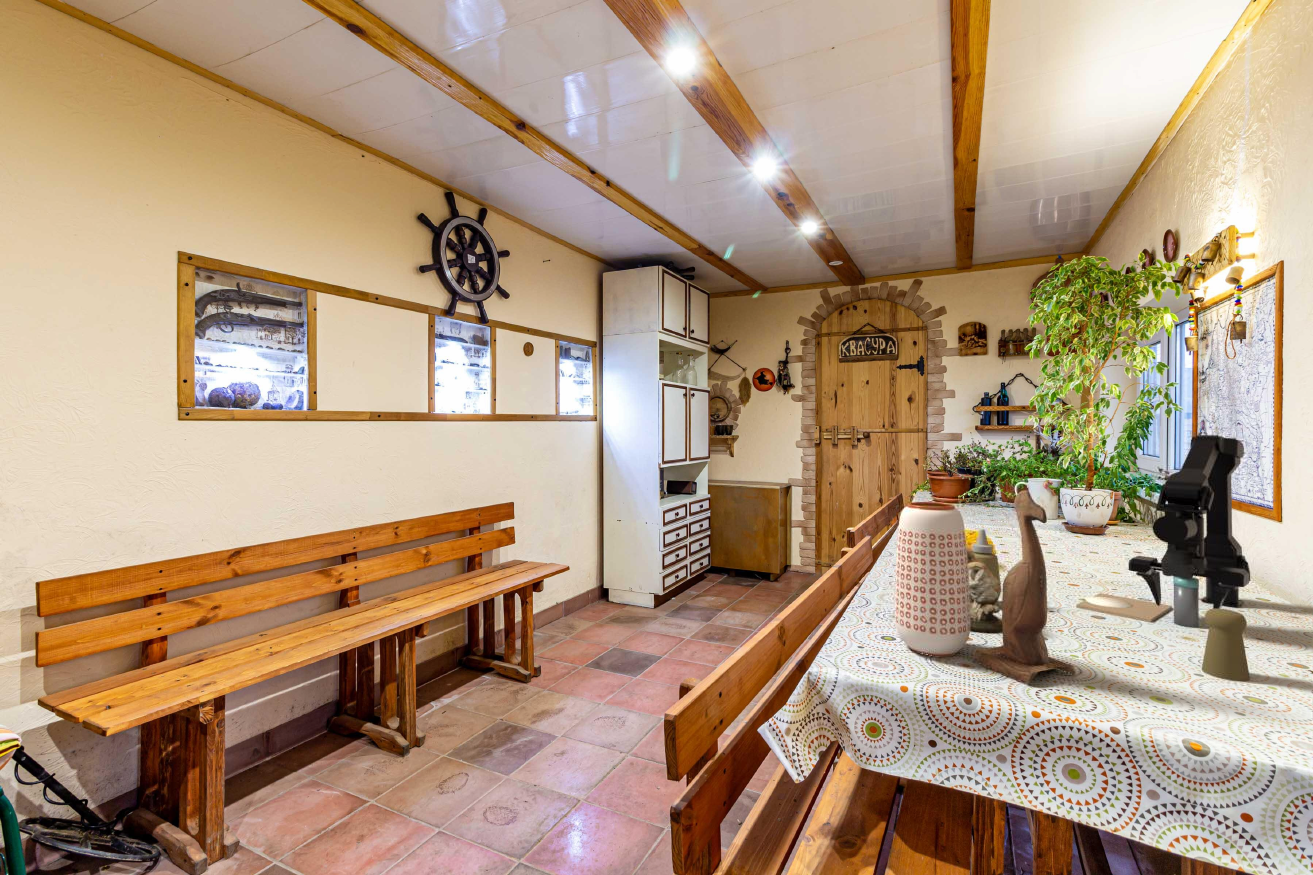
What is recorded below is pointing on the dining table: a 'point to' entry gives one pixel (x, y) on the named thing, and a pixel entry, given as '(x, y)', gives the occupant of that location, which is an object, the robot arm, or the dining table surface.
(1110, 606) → the kraft pad
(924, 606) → the patterned ceramic vase
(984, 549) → the squeeze bottle
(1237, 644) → the cork
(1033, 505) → the bird sculpture
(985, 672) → the dining table surface
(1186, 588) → the marker
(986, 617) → the owl figurine
